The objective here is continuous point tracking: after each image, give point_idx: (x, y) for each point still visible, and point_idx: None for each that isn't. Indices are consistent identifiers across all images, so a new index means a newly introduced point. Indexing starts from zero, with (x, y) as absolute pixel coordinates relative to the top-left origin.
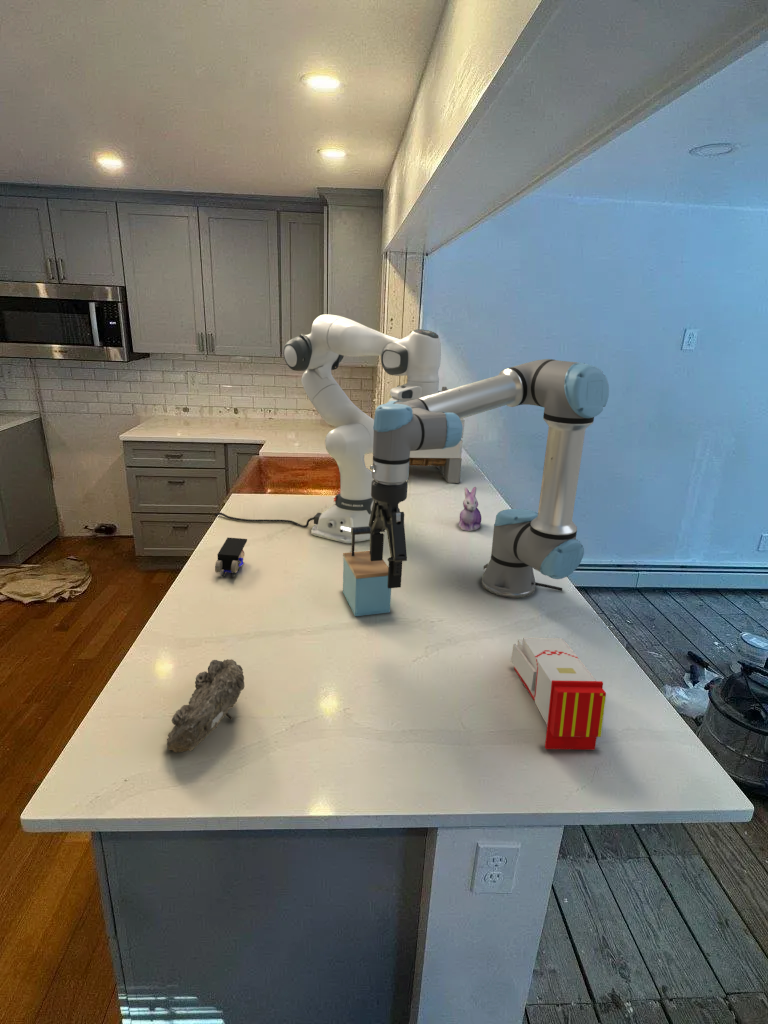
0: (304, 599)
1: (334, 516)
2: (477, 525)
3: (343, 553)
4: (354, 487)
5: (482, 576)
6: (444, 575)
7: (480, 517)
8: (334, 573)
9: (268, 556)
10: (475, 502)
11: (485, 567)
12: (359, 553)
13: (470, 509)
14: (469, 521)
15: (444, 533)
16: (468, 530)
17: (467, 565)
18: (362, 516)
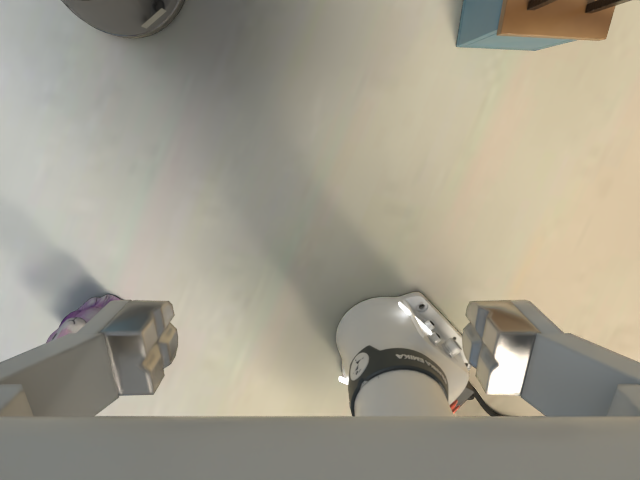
0: (631, 37)
1: (449, 361)
2: (83, 307)
3: (606, 34)
4: (434, 402)
5: (176, 5)
6: (263, 71)
7: (63, 320)
8: (509, 152)
9: (604, 270)
10: (54, 337)
11: (155, 19)
12: (562, 20)
13: (81, 320)
14: (100, 309)
15: (178, 296)
16: (114, 296)
17: (185, 112)
18: (390, 338)
